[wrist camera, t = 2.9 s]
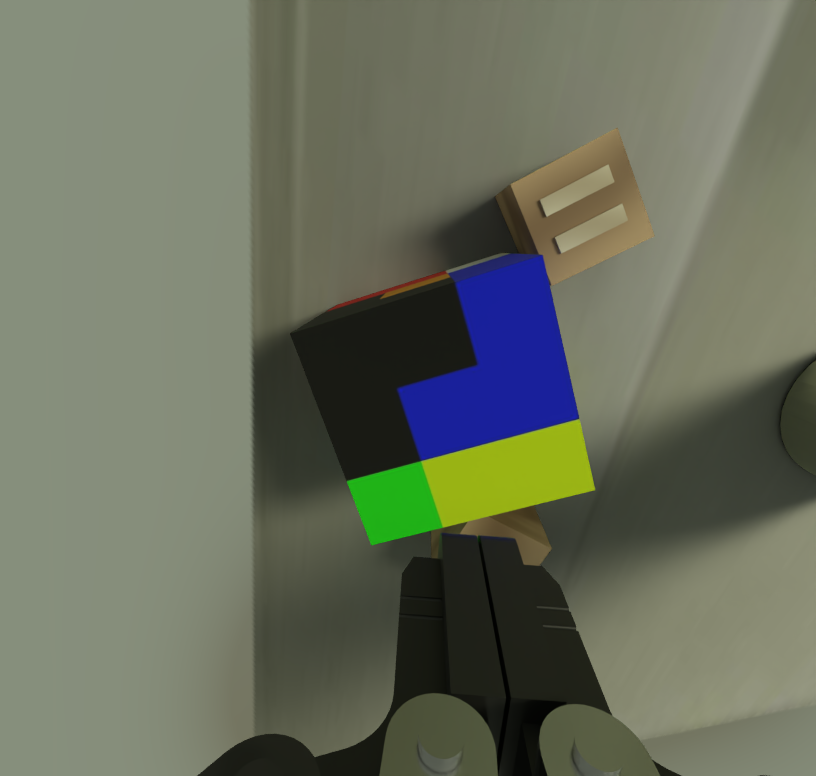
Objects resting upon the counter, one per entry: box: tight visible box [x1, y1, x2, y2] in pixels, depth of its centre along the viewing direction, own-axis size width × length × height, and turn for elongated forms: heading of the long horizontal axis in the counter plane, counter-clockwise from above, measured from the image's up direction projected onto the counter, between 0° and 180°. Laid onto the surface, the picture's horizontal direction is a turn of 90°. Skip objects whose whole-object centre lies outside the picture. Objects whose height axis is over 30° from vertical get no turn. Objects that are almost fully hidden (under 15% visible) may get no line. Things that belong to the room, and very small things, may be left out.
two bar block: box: [495, 128, 654, 286], centre depth 23 cm, size 5×5×5 cm
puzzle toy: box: [290, 253, 595, 545], centre depth 24 cm, size 10×10×10 cm
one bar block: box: [431, 505, 552, 566], centre depth 29 cm, size 5×5×5 cm
